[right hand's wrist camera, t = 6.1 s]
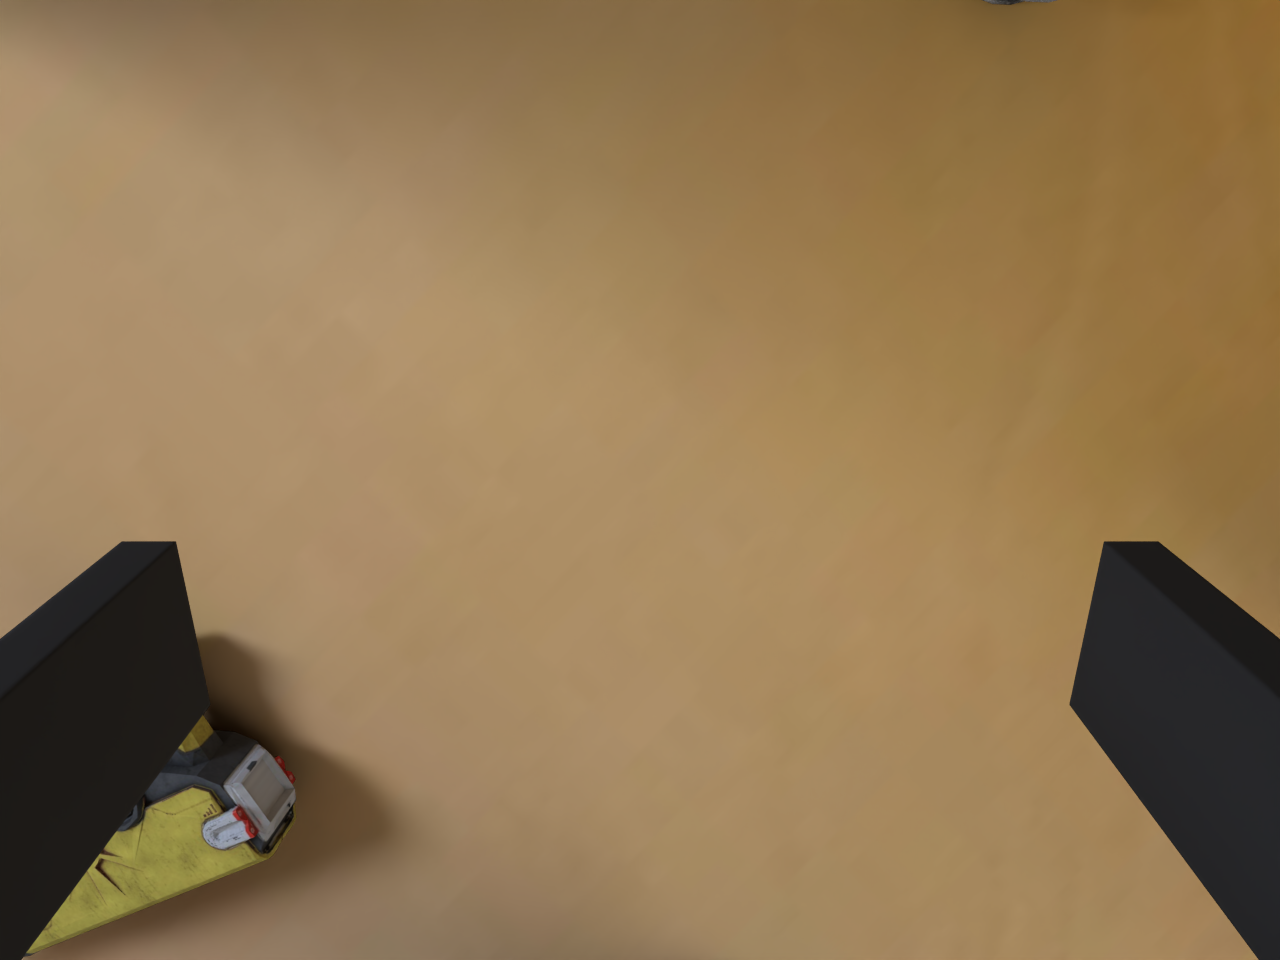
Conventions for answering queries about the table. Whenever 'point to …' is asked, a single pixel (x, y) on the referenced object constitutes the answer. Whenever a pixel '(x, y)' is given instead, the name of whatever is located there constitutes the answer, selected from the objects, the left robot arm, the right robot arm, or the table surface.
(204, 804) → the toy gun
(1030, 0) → the salt shaker
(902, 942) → the table surface
